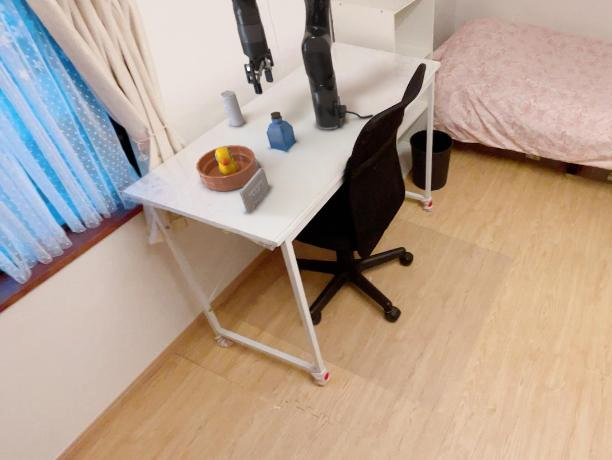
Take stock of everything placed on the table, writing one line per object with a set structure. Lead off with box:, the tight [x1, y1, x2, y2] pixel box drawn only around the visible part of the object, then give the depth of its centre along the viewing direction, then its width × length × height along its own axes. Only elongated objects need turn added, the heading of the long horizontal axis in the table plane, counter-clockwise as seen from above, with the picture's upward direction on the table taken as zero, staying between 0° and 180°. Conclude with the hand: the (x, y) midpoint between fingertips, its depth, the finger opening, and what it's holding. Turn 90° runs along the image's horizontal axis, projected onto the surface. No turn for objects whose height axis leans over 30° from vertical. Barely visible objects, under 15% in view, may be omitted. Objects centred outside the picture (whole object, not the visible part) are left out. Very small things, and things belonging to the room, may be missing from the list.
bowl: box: [195, 144, 260, 192], centre depth 136 cm, size 17×17×6 cm
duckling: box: [215, 146, 238, 176], centre depth 134 cm, size 11×5×10 cm, turn 25°
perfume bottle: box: [265, 111, 297, 152], centre depth 146 cm, size 6×6×12 cm
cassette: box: [239, 167, 270, 213], centre depth 126 cm, size 12×2×8 cm, turn 166°
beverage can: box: [220, 90, 245, 128], centre depth 155 cm, size 5×5×12 cm
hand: (264, 87), depth 141 cm, fingers open, 8 cm apart
